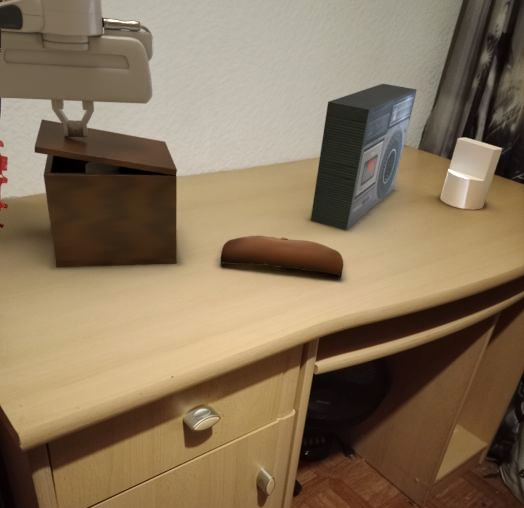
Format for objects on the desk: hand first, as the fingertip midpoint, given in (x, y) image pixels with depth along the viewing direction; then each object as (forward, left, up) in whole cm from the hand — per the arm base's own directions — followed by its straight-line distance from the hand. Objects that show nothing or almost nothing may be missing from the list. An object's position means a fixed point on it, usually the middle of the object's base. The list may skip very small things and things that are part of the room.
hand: (76, 136), depth 72 cm
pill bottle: (+3, +1, -15) cm, 16 cm away
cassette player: (+51, +17, -16) cm, 56 cm away
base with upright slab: (+76, +18, -16) cm, 80 cm away
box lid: (+4, 0, -2) cm, 4 cm away
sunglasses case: (+28, -8, -16) cm, 33 cm away
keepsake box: (+4, 0, -16) cm, 16 cm away
